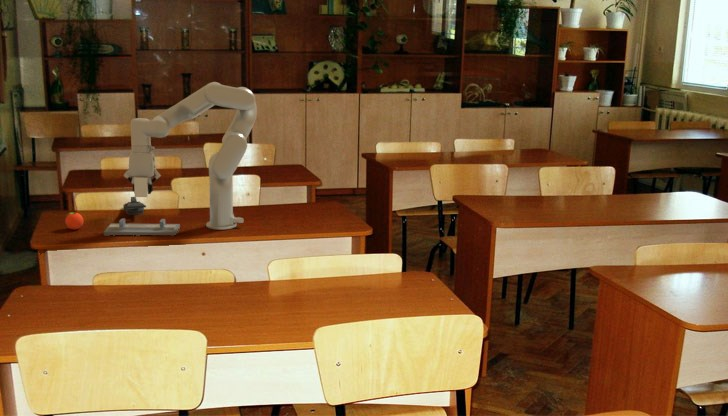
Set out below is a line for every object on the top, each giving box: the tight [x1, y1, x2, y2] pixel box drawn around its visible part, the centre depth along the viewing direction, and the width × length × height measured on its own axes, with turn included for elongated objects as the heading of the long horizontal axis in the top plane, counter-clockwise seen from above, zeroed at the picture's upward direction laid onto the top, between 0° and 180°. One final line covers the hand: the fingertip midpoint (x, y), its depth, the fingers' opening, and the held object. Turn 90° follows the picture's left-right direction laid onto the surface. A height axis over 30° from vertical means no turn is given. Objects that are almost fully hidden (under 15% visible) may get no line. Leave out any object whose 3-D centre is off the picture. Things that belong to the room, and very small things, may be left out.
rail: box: [108, 218, 176, 229], centre depth 306 cm, size 26×4×3 cm, turn 96°
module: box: [134, 176, 149, 198], centre depth 306 cm, size 5×7×8 cm
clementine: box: [65, 212, 85, 231], centre depth 306 cm, size 8×7×7 cm
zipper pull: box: [122, 196, 147, 216], centre depth 334 cm, size 9×7×25 cm
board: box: [103, 223, 181, 237], centre depth 306 cm, size 28×13×2 cm, turn 96°
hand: (142, 192), depth 306 cm, fingers closed on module, 5 cm apart
